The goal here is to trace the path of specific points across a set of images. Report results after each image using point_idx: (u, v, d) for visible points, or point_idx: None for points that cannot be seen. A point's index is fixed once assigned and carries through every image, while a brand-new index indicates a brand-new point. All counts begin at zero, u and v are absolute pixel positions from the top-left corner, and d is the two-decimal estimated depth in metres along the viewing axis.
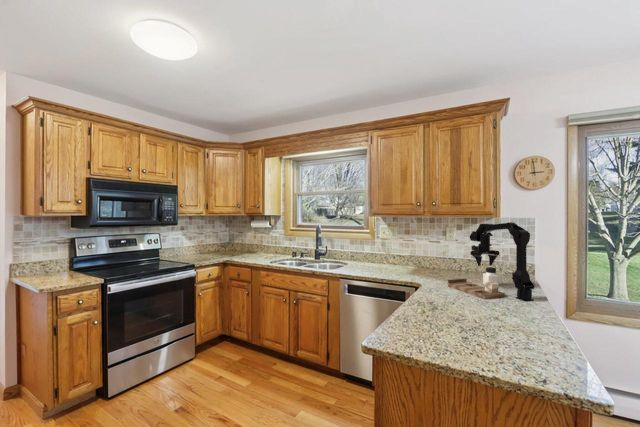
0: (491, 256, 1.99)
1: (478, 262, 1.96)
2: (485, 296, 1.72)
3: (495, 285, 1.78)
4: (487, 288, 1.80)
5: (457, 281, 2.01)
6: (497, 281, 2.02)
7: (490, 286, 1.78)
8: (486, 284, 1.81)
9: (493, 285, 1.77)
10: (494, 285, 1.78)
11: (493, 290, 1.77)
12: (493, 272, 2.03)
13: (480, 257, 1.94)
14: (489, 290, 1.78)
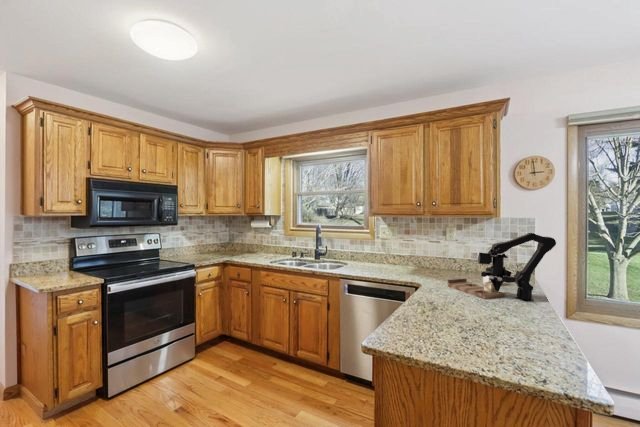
0: None
1: None
2: (485, 296, 1.72)
3: None
4: (486, 288, 1.80)
5: (457, 281, 2.01)
6: None
7: (489, 286, 1.78)
8: (485, 283, 1.81)
9: (492, 284, 1.78)
10: (493, 285, 1.78)
11: (492, 290, 1.78)
12: None
13: (491, 280, 1.77)
14: (488, 290, 1.79)
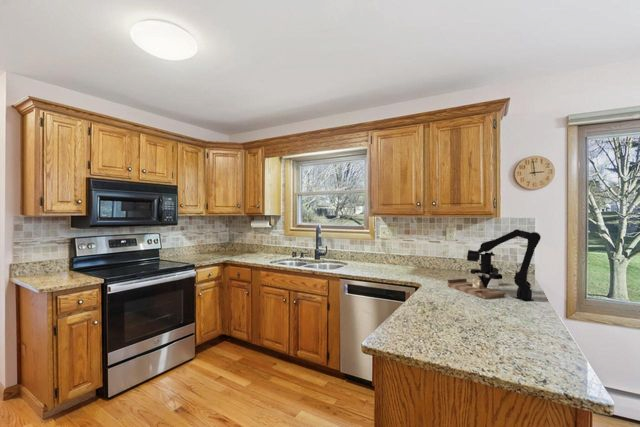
0: None
1: None
2: (485, 296, 1.72)
3: None
4: (475, 285, 1.88)
5: (457, 281, 2.01)
6: (497, 281, 2.02)
7: (478, 283, 1.86)
8: (474, 280, 1.89)
9: (480, 281, 1.86)
10: (481, 282, 1.86)
11: (480, 286, 1.86)
12: None
13: (480, 277, 1.85)
14: (477, 286, 1.87)
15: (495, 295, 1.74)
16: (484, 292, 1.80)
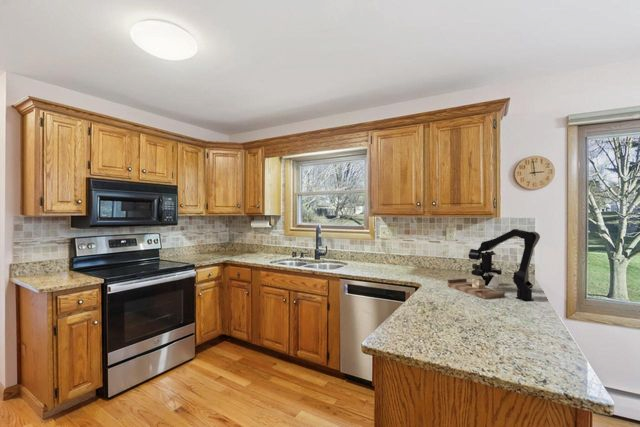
0: None
1: (485, 282, 1.88)
2: (485, 296, 1.72)
3: (482, 282, 1.86)
4: (474, 285, 1.88)
5: (457, 281, 2.01)
6: (497, 281, 2.02)
7: (477, 282, 1.86)
8: (473, 280, 1.89)
9: (480, 281, 1.86)
10: (481, 282, 1.86)
11: (480, 286, 1.86)
12: None
13: (487, 277, 1.85)
14: (476, 286, 1.87)
15: (495, 295, 1.74)
16: (484, 292, 1.80)
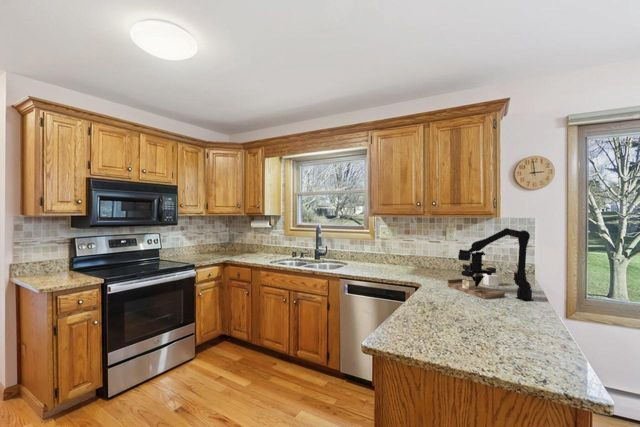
0: None
1: (475, 282, 1.85)
2: (485, 296, 1.72)
3: (472, 282, 1.84)
4: (464, 286, 1.86)
5: (457, 281, 2.01)
6: (497, 281, 2.02)
7: (467, 283, 1.84)
8: (463, 281, 1.87)
9: (470, 282, 1.83)
10: (471, 282, 1.84)
11: (470, 287, 1.83)
12: (493, 272, 2.03)
13: (477, 277, 1.83)
14: (466, 287, 1.85)
15: (495, 295, 1.74)
16: (484, 292, 1.80)
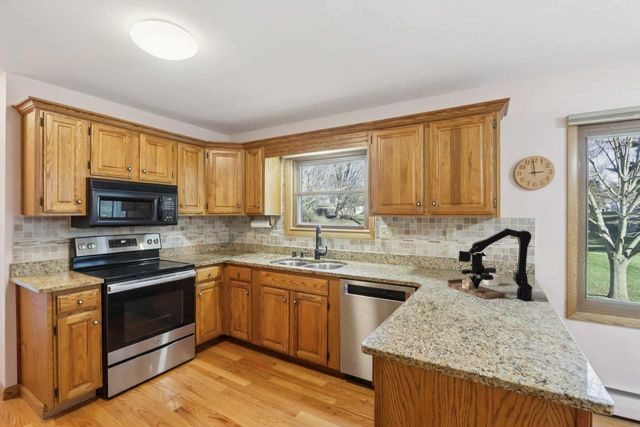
0: None
1: None
2: (485, 296, 1.72)
3: (472, 282, 1.84)
4: (464, 286, 1.86)
5: (457, 281, 2.01)
6: (497, 281, 2.02)
7: (467, 283, 1.84)
8: (463, 281, 1.87)
9: (470, 282, 1.83)
10: (471, 282, 1.84)
11: (470, 287, 1.83)
12: (493, 272, 2.03)
13: (470, 277, 1.83)
14: (466, 287, 1.84)
15: (495, 295, 1.74)
16: (484, 292, 1.80)
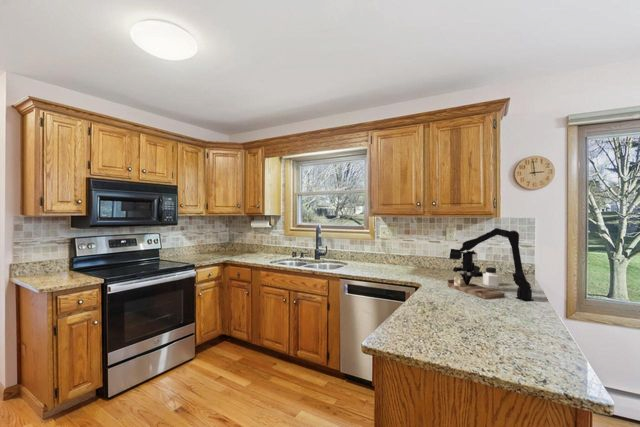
0: None
1: None
2: (485, 296, 1.72)
3: (463, 280, 1.91)
4: (456, 283, 1.93)
5: None
6: (497, 281, 2.02)
7: (458, 281, 1.91)
8: (455, 279, 1.93)
9: (461, 279, 1.90)
10: (462, 280, 1.90)
11: (461, 284, 1.90)
12: (493, 272, 2.03)
13: (461, 275, 1.90)
14: (458, 284, 1.91)
15: (495, 295, 1.74)
16: (484, 292, 1.80)
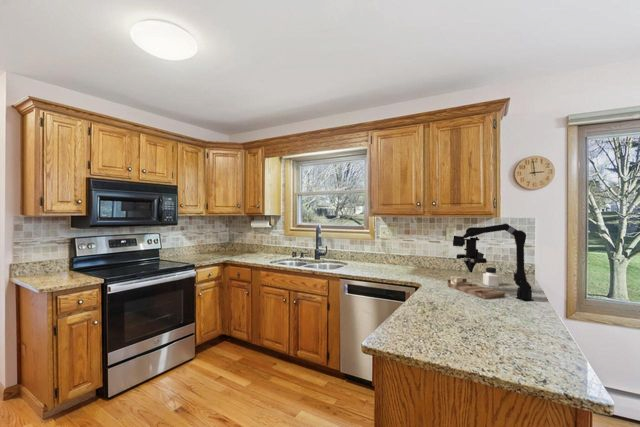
0: None
1: None
2: (485, 296, 1.72)
3: (459, 279, 1.94)
4: (452, 282, 1.96)
5: None
6: (497, 281, 2.02)
7: (455, 280, 1.94)
8: (452, 277, 1.96)
9: (458, 278, 1.93)
10: (459, 279, 1.93)
11: (458, 283, 1.93)
12: (493, 272, 2.03)
13: (465, 262, 1.87)
14: (454, 283, 1.94)
15: (495, 295, 1.74)
16: (484, 292, 1.80)
